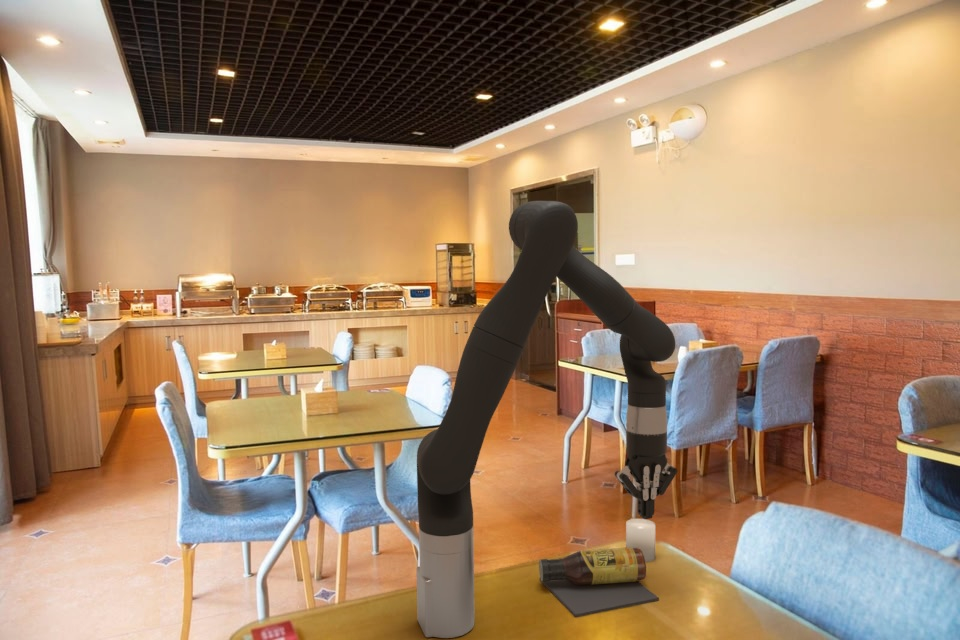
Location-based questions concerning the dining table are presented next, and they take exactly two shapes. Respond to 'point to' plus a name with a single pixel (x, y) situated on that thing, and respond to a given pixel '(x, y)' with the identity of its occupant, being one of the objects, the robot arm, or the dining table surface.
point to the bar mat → (599, 596)
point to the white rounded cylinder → (641, 537)
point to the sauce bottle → (596, 567)
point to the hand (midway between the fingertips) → (646, 517)
